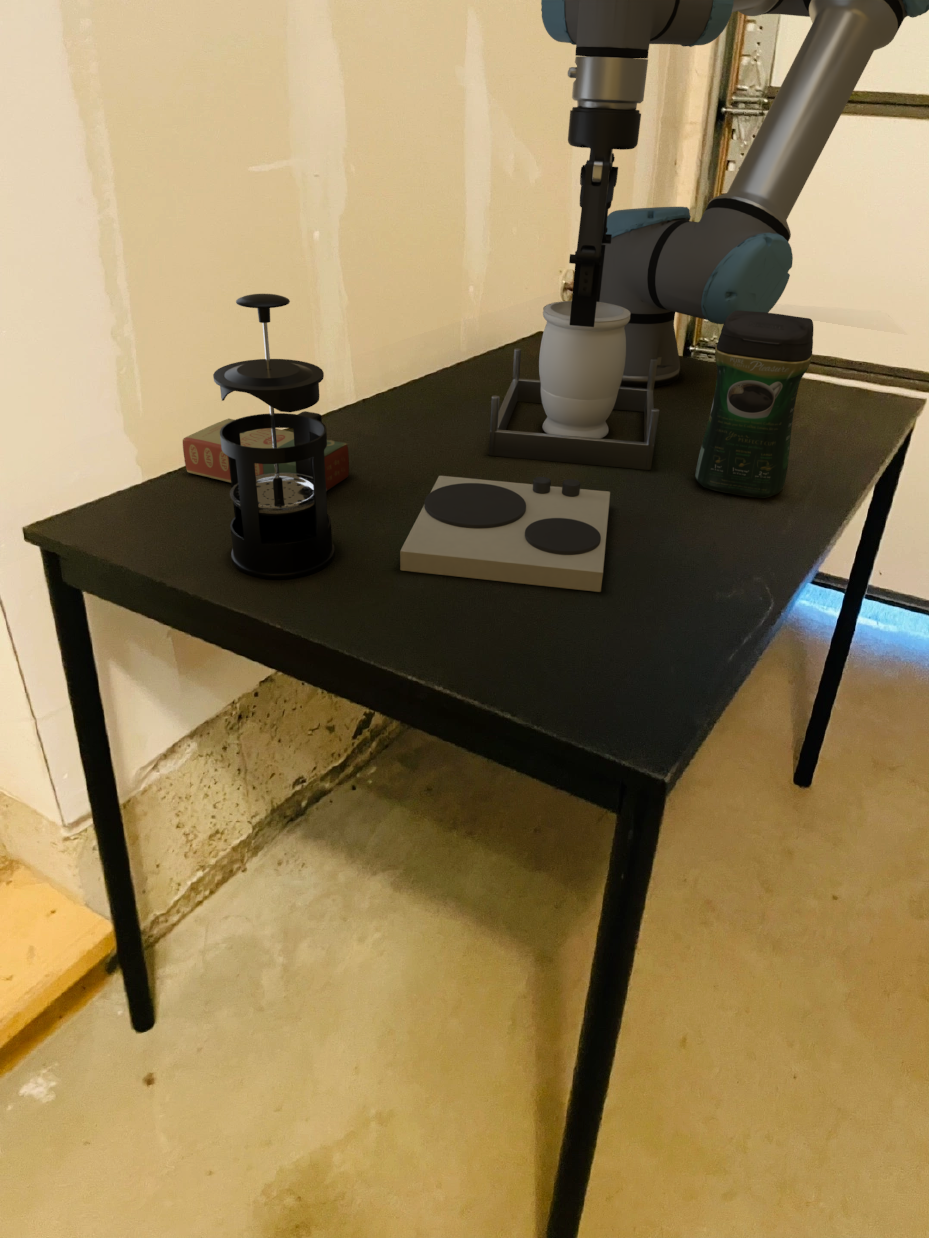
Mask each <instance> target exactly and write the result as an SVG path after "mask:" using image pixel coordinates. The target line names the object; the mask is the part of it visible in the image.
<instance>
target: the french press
mask: <svg viewBox="0 0 929 1238" xmlns="http://www.w3.org/2000/svg"><path fill="white" fill-rule="evenodd" d="M290 302H291V300H290V299H289V298H288V297H287V296H283V295H280V294H275V293H253V294H252V293H250V294H246V295H243V296H240V297H238V298H237V299H236V300H235V303H236V305H238V306H240V307H244V308H251V309H257V318H258V322H259V323H261V324H262V333H263V346H264V357H265V358H258V359H248V360H242V361H236V362H232V363H228V364H226V365H223V366H222V367H219V368H217V369H216V370H215V371H214V373H213V374H212V376H213V382H214V383H215V384H216V385H217V386H219V388H220V398H221V402H224V401H225V399H226V398H227V397H228V395H229V394H231V393H233V392H239V393H245V394H249V395H251V396H252V397H254V398H257V399H258V400H260V401H262V402H263V403H264V404H266V405H268V407H269V413H259V414H252V415H247V416H242V417H239V418H236V419H234V420H233V421H231V422H229V423H227V424H225V425H224V426H223V427H222V428H221V430H220V439H221V448H222V451H223V452H224V454H226V455H227V456H228V459H229V469H230V478H231V483H230V487H231V488H230V491H229V497H230V499H231V500H232V503H233V512H234V513H233V514H234V516H233V518H232V519H231V521H230V524H229V527H230V534H231V544H232V545H231V546H232V548H231V553H230V557H231V559H230V560H231V562H232V564H233V566H234V567H235V569H237V570H238V571H240V572H242V573H244V574H246V575H249V576H251V577H254V578H260V579H267V580H287V579H297V578H301V577H305V576H306V577H307V576H310V575H312V574H314V573H317V572H319V571H322V570H323V569H325V568H326V567H328V566H329V565H330V564H331V563H332V562H333V560H334V558H335V554H336V548H335V544H334V543H333V532H332V519H331V515H329V514H328V502H327V501H328V498H327V491H326V477H325V458H324V450H325V448H326V447H327V440H328V433H327V427H326V425H325V424H324V423H323V419H322V415H321V414H320V413H317V412H312V411H305V410H306V409H308V408H311V407H313V406H315V405H316V404H318V402H319V401H320V383H321V382H322V381H323V380H324V378H325V377H324V376H325V373H324V371H323V369H322V368H321V367H320V366H318V365H316V364H313V363H310V362H307V361H303V360H297V359H289V358H288V359H287V358H271V355H270V342H269V330H268V323H271V309H274V308H275V309H276V308H280V307H285V306H287V305H289V304H290ZM275 410H277V411H279V412H275ZM303 410H304V411H303ZM300 411H301V412H300ZM295 412H300V413H298V414H296V413H295ZM265 428H271V432H272V444H273V448H254V447H247V446H242V445H241V441H240V433H244V432H247V431H252V430H257V429H265ZM276 429H292V432H294V446H291V447H284V448H277V440H276ZM290 462H296V473H279V465H278V464H281V463H290ZM254 463H257V464H274V468H275V473H269V474H263V475H258V476H256V475H255V464H254ZM275 537H298V538H304V539H302V540H299V541H298V540H297V541H292V542H282V543H271V542H270V543H267V542H263V540H267V539H270V538H275Z"/></svg>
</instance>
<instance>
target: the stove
mask: <svg viewBox="0 0 929 1238" xmlns="http://www.w3.org/2000/svg"><path fill="white" fill-rule="evenodd" d="M551 483H552V480H551V479H550V478H549V477H546V476H535V477H534V478H533V480H532V483H531V484H530V483H522V482H512V481H511V482H510V481H501V480H492V479H491V480H490V479H480V478H470V477H461V476H448V475H438V477H437V479H436V480H435V483H434V484H433V486H432V489H431V490H430V493H428V494H427V495H426V497H425V498H424V502H423V503H424V504H423V506H422V508H421V510H420V512H419V514H418V516H417V517H416V519H415V522H414V523H413V526H412V527H411V529H410V531H409V533H408V535H407V537H406V539H405V541H404V543H403V545H402V547H401V549H400V551H399V563H400V564H399V566H400V567H399V570H400V571H403V572H411V573H421V574H430V575H440V576H448V577H458V578H465V579H466V578H468V579H476V580H477V579H478V580H485V581H495V582H502V583H503V582H504V583H513V584H520V585H521V584H523V585H524V584H525V585H529V586H530V585H532V586H540V587H550V588H557V589H559V588H560V589H567V590H576V591H577V590H578V591H585V592H595V593H601V592H602V585H603V578H604V568H605V567H604V566H605V556H606V555H605V554H606V546H607V545H606V543H607V536H608V535H607V532H608V523H609V522H608V521H609V511H610V499H611V491H606V490H596V489H585V488H581V482H580V481H579V480H578V479H572V478H569V479H564V480H563V481H562V486H553V485H551Z"/></svg>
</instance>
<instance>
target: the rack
mask: <svg viewBox="0 0 929 1238" xmlns="http://www.w3.org/2000/svg"><path fill="white" fill-rule="evenodd" d="M521 354H522V349H521V348H517V347H516V348H514V350H513V364H512V365H513V367H512V380H511V383H510V385H509V388H508V389H507V392H506V393H505V396H504V399H503V401H502V403H501V405H500V396H499V395H496V394H495V395H494V394H493V395H492V396H491V397H490V398H491V400H490V418H489V419H490V422H489V441H488V442H489V444H488V456H491V457H501V458H502V457H503V458H512V459H523V460H524V459H525V460H536V461H547V462H556V463H567V464H568V463H569V464H579V465H590V466H600V467H610V468H611V467H613V468H623V469H633V470H634V469H635V470H645V471H651V470H652V465H653V458H654V453H655V452H654V451H655V445H656V436H657V431H658V423H659V417H660V409H659V408H654V389H655V387H654V383H655V376H656V369H657V362H658V359H651V361H650V369H649V376H648V384H647V387H625V386H620V387H619V390H618V394H617V398H616V402H615V405H614V407H613V410H615V411H630V412H639V413H643V441H635V440H623V439H612V438H611V439H610V438H590V437H578V436H567V435H555V434H547V433H545V432H544V433H542V432H531V431H519V430H509V429H508V430H507V428H508V425H509V423H510V420H511V418H512V415H513V413H514V411H515V408H516V407H517V403H518V402H520V403H531V404H542V399H541V382H540V379H531V378H521V377H520V374H521V373H520V372H521V358H522V357H521V356H522V355H521Z"/></svg>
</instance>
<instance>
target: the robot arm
mask: <svg viewBox="0 0 929 1238" xmlns="http://www.w3.org/2000/svg"><path fill="white" fill-rule="evenodd" d="M540 5H541V9H540V11H541V20H542V23H543V27H544V30H545V31H546V32H547V34H548V35H549V37H551V39H553V40H554V41H556V42H558V43H566V44H571V45H573V46H576V47H575V58H574V63H575V65H576V66H571V67H569V68H568V70H567V77H568V78H571V79H575V80H573V82H572V90H571V91H572V92H571V99H572V100H573V101H575V102H576V106H572V107H571V110H569V121H568V132H567V143H568V144H569V145H570V146H571V147H575V148H582V149H589V158H588V159H587V160H586V161H585V164H583V165H582V166H581V168H580V175H579V185H580V193H579V207H580V209H581V210H580V220H579V227H578V228H579V229H578V236H577V245H576V251H575V252H574V254H572V253H569V261H568V263H569V264H572V265H574V272H573V282H572V283H573V284H572V292H571V293H572V294H571V301H572V304H571V314H570V325H572V326H585V327H594V322H595V313H596V303H597V302H603V303H608V304H613V305H617V306H620V307H623V308H625V309H627V310H629V311H630V313H631V314H630V320H629V322H628V323H627V324H626V325H625V326H624V330H625V336H626V359H625V367H624V372H623V377H622V381H621V384H620V386H621V387H634V388H647V384H648V376H649V369H650V361H651V359H658V362H657V369H656V376H655V383H654V388H655V387H660V386H666V385H669V384H672V383H674V382H676V381H677V380H678V379H679V376H680V369H681V360H680V355H679V347H678V343H677V336H676V330H675V318H676V314H677V313H678V314H682V315H685V316H690V317H692V318H697V319H701V320H705V321H708V322H710V323H712V324H717V325H724V322H725V320H726V318H727V317H728V316H729V315H730V314H731V313H732V312H734V311H737V310H738V311H752V312H765V313H770V312H771V310H772V309H773V308H774V307H775V305H776V304H777V303H778V302H779V300H780V299H781V297H782V295H783V293H784V291H785V289H786V287H787V285H788V283H789V280H790V277H791V274H790V273H789V271H790V270H791V269H792V267H793V262H794V261H793V260H794V257H793V255H794V254H793V251H792V250H793V249H792V246H791V244H790V239H791V236H792V232H791V230H790V229H791V228H790V227H789V224H788V218H789V216H790V214H791V212H792V211H793V208H794V206H795V205H796V203H797V201H798V199H799V197H800V196H801V195H800V194H801V193H802V191H803V189H804V187H805V185H806V183H807V181H808V179H809V178H810V176H811V174H812V172H813V170H814V168H815V166H816V164H817V161H818V160H819V158H820V156H821V155H822V152H823V150H824V148H825V147H826V144H827V143H828V141H829V139H830V137H831V135H832V133H833V131H834V129H835V127H836V125H837V123H838V121H839V119H840V118H841V115H842V114H843V111H844V109H845V108H846V106H847V104H848V102H849V100H850V98H851V96H852V94H853V92H854V90H855V89H856V87H857V85H858V83H859V81H860V79H861V76H862V75H863V73H864V71H865V69H866V67H867V65H868V64H869V61H870V60H871V58H872V56H873V53H874V52H875V51H877V50H880V49H883V48H885V47H886V46H888V45H890V43H891V42H893V40H894V38H896V35H897V33H898V31H899V30H900V27H901V26H902V23H903V21H904V20H905V18H907V17H909V18H912V19H913V18H917V17H918V16H919V17H920V16H921V15H924V14H926V13H927V12H928V11H929V0H540ZM736 12H739V14H741V15H744V16H746V17H759V16H763V15H783V16H784V15H785V16H794V17H807V18H810V21H811V23H812V24H811V25H810V28H809V30H808V32H807V34H806V35H805V38H804V40H803V42H802V43H801V46H800V47H799V49H798V52H797V54H796V55H795V57H794V59H793V62H792V63H791V66H790V68H788V72H786V75H785V77H784V79H783V81H782V82H781V85H780V87H779V89H778V91H777V93H776V95H775V97H774V99H773V101H772V103H771V105H770V107H769V108H768V111H767V112H766V115H765V116H764V119H763V121H762V122H761V124H760V127H759V128H758V131H757V133H756V135H755V136H754V138H753V140H752V143H751V145H750V146H749V148H748V150H747V152H746V154H745V156H744V158H743V160H742V162H741V164H740V166H739V168H738V171H737V172H736V174H735V176H734V178H733V180H732V181H731V184H730V186H729V188H728V190H727V192H725V193H723V194H720V195H717V196H715V197H712V198H711V199H710V201H709V202H708V204H707V205H706V207H705V210H704V212H703V214H702V216H701V218H700V219H699V221H693V220H691V217H692V216H691V211H690V209H689V207H688V206H656V207H640V208H639V207H638V208H626V209H618V210H613V211H611V212H610V213H609V210H610V209H611V207H612V202H613V200H614V194H615V193H614V192H615V187H616V185H617V182H618V175H619V174H618V173H619V166H614V163H615V160H616V157H615V154H614V153H613V150H618V151H619V150H620V151H622V150H624V151H625V150H633V149H635V148H636V147H638V145H639V144H638V143H639V136H640V129H641V128H640V127H641V121H642V120H641V119H642V113H641V111H640V109H637V107H638V104H641V103H643V102H644V98H645V91H646V90H645V89H646V81H647V73H648V65H649V51H650V45H677V46H678V45H679V46H681V47H690V48H692V47H695V46H705V45H708V44H710V43H712V42H713V41H715V40H716V39H717V38H719V37H720V36H721V34H722V33H723V32H724V31H725V29H726V28H727V26H728V24H729V22H730V19H731V17H732V15H733V13H736Z"/></svg>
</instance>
